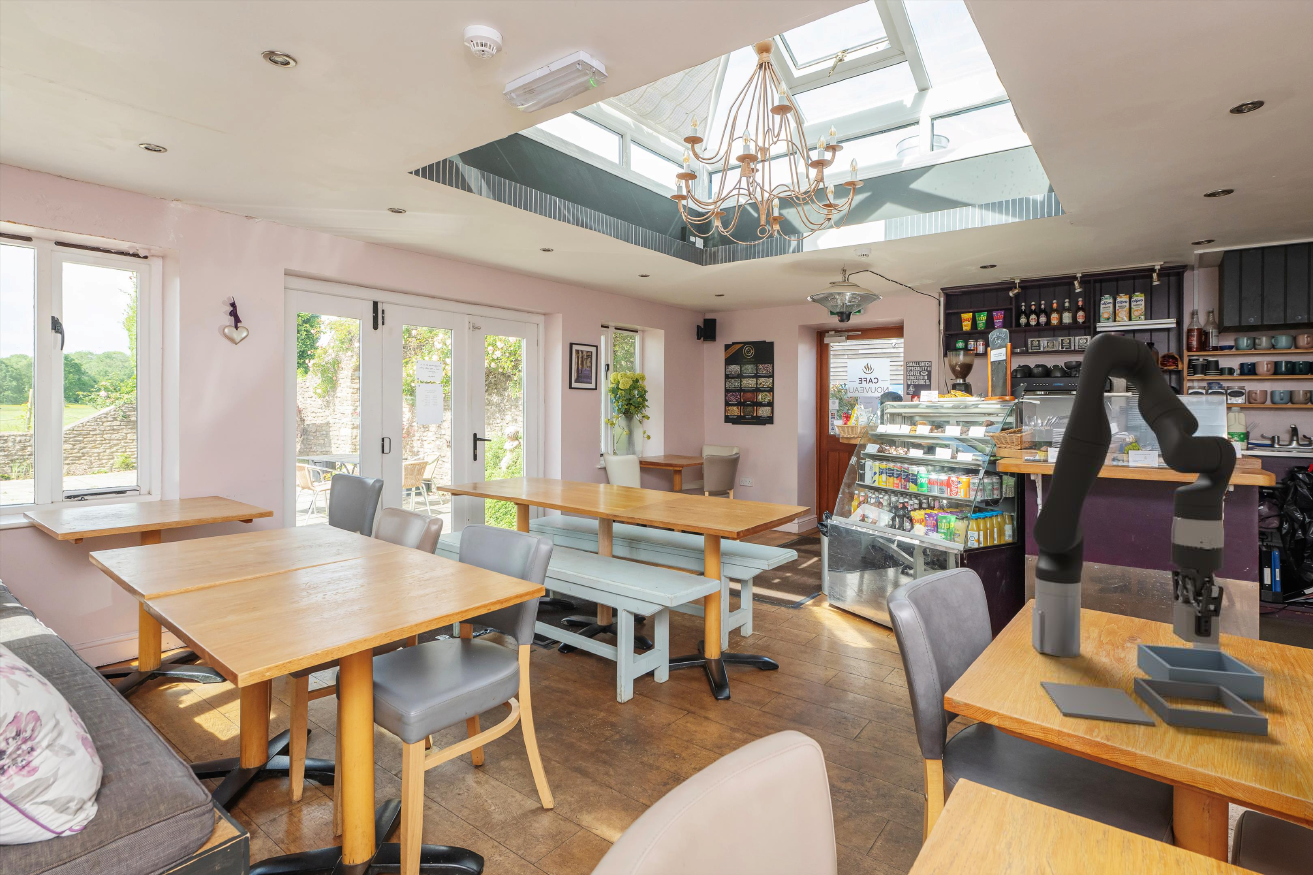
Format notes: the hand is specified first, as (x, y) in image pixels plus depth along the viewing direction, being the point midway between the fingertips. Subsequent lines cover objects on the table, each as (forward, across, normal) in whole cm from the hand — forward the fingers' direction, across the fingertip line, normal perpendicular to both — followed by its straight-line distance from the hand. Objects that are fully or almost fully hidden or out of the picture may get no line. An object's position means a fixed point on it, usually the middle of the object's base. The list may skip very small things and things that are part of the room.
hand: (1195, 630), depth 120 cm
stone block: (+1, 0, 0) cm, 1 cm away
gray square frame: (+15, +1, 0) cm, 15 cm away
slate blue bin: (+15, -15, +7) cm, 23 cm away
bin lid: (+15, +2, -17) cm, 23 cm away
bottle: (+15, -38, +19) cm, 46 cm away
